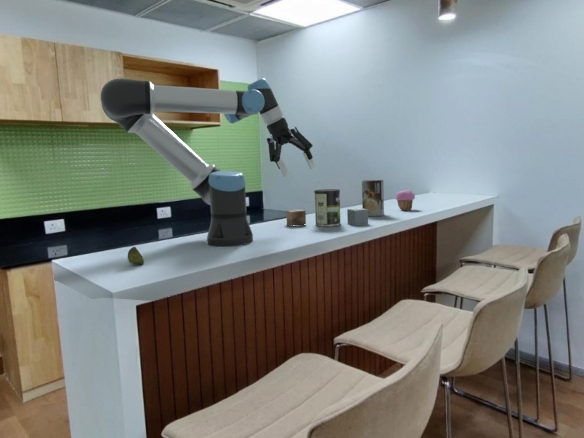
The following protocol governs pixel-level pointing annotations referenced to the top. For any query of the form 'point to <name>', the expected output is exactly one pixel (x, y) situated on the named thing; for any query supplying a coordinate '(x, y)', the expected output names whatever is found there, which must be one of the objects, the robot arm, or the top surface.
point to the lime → (135, 256)
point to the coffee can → (327, 207)
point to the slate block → (357, 216)
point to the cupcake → (405, 199)
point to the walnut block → (296, 217)
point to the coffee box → (373, 197)
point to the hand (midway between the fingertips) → (299, 171)
